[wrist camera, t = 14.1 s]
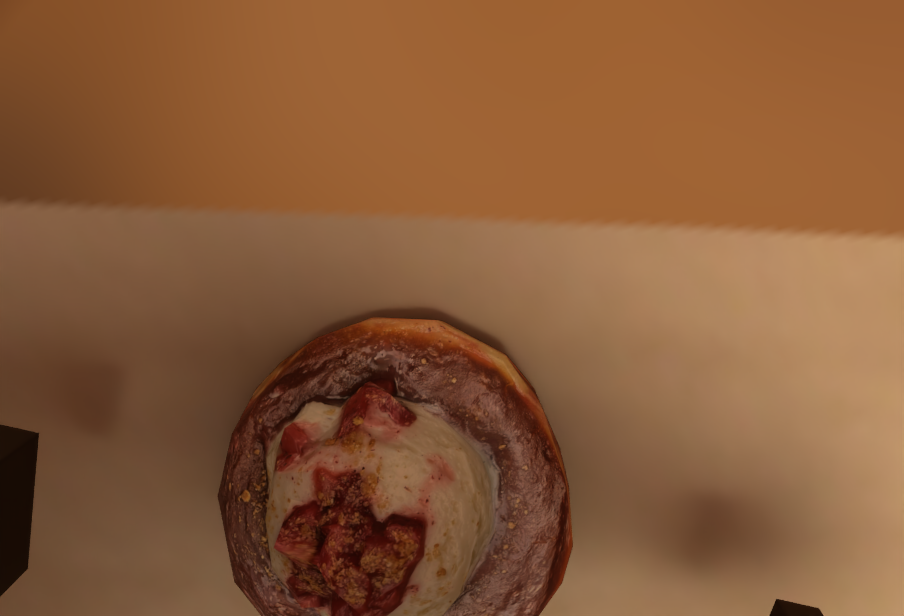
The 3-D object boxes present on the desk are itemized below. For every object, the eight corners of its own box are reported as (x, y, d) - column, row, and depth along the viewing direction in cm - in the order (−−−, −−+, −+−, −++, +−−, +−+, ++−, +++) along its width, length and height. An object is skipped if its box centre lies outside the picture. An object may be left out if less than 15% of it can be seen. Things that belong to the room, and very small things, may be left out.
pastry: (361, 241, 15) (322, 313, 11) (642, 439, 17) (719, 585, 12) (162, 518, 17) (52, 686, 12) (429, 677, 19) (422, 885, 14)
